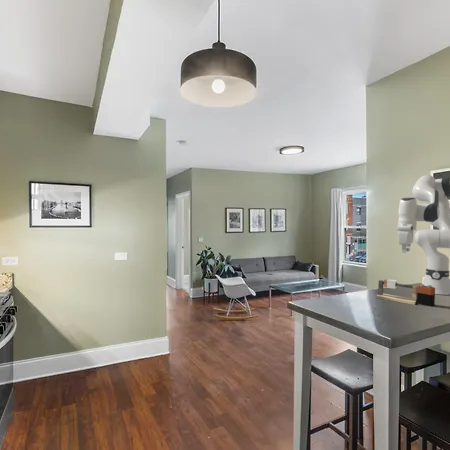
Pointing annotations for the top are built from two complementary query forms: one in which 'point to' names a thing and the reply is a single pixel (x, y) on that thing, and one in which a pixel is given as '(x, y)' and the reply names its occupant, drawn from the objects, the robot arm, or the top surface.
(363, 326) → the top surface
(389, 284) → the marker sleeve
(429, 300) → the battery
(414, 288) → the rod stand
